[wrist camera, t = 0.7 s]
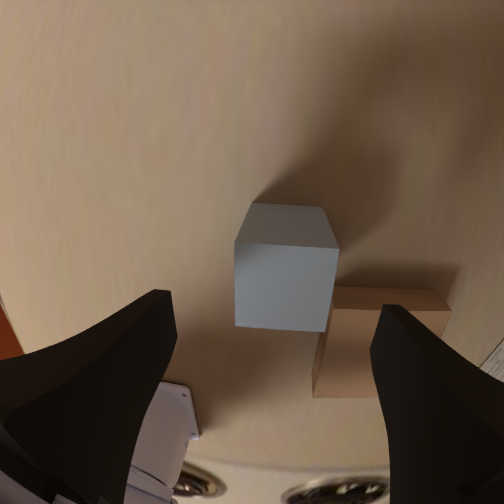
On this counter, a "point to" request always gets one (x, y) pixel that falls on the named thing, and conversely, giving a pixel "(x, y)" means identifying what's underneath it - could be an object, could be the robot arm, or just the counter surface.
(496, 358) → the light bulb box
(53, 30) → the counter surface
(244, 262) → the slate-blue block
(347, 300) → the tan flat block
